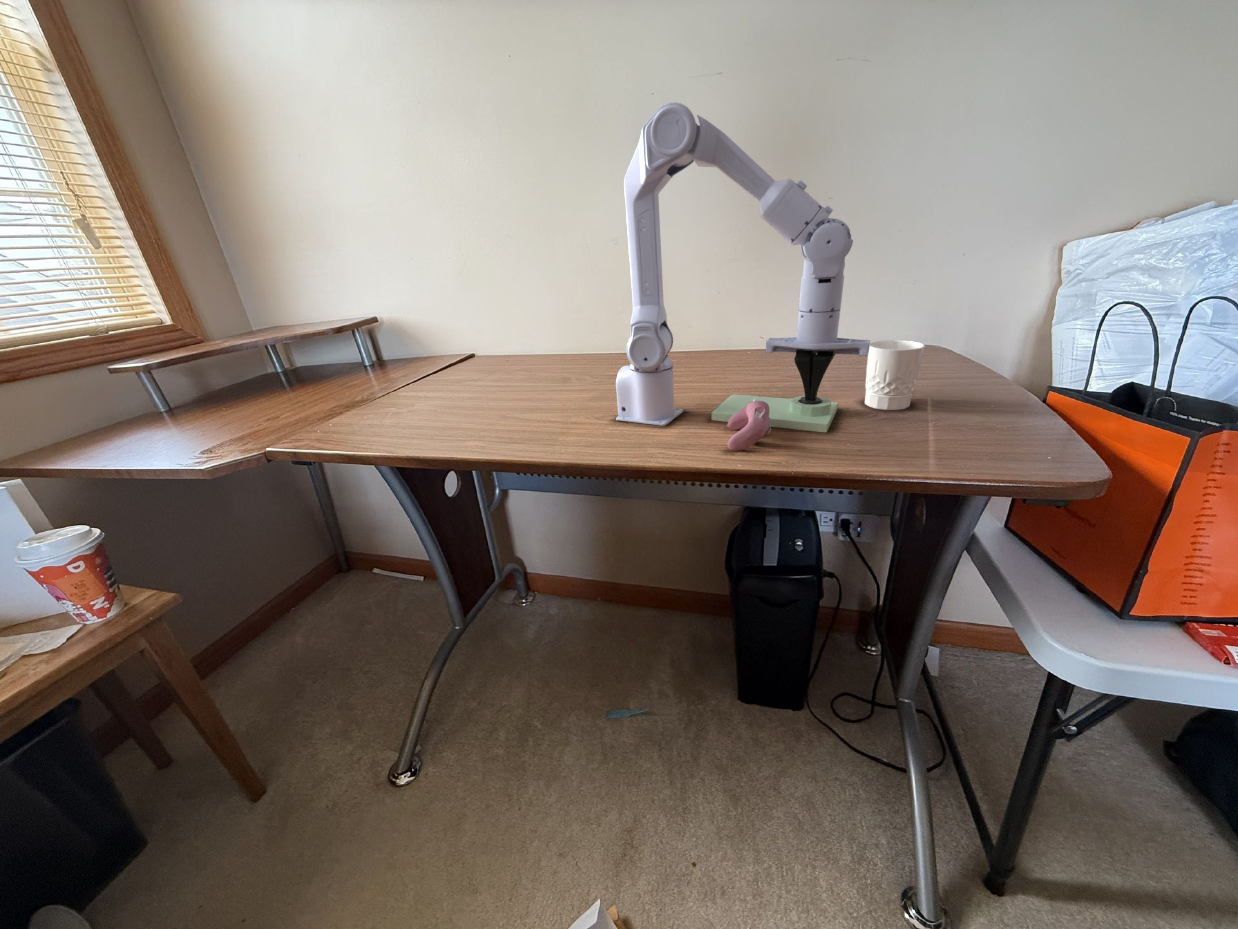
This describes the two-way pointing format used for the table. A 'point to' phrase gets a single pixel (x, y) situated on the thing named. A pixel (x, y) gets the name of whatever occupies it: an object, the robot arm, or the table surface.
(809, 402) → the button
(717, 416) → the scale
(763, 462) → the table surface
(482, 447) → the table surface
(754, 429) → the video game controller
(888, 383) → the white cup
